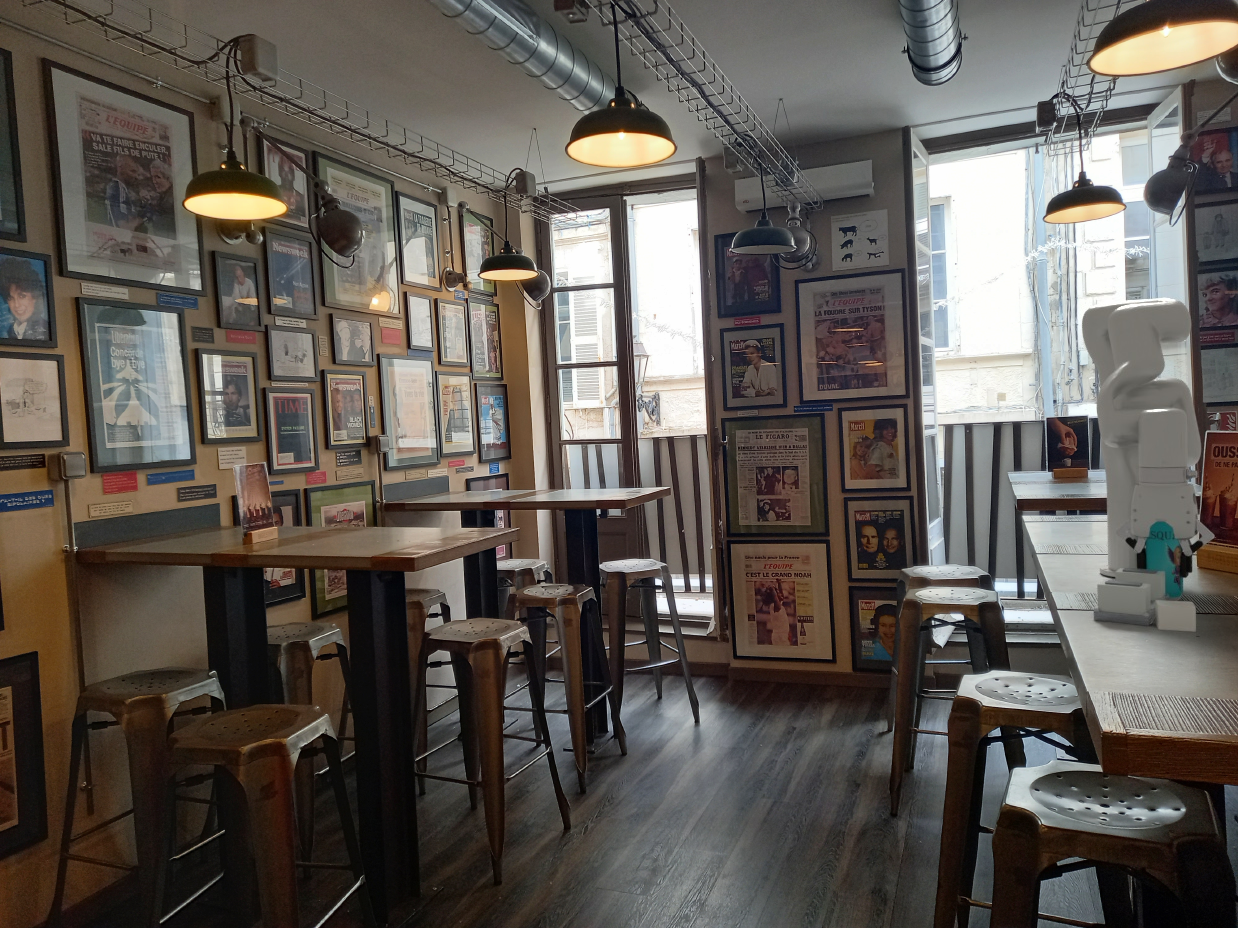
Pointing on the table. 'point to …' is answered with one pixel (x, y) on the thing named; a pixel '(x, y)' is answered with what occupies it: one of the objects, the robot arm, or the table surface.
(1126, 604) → the block
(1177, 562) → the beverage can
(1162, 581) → the module
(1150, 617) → the rail
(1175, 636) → the table surface
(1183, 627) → the block
